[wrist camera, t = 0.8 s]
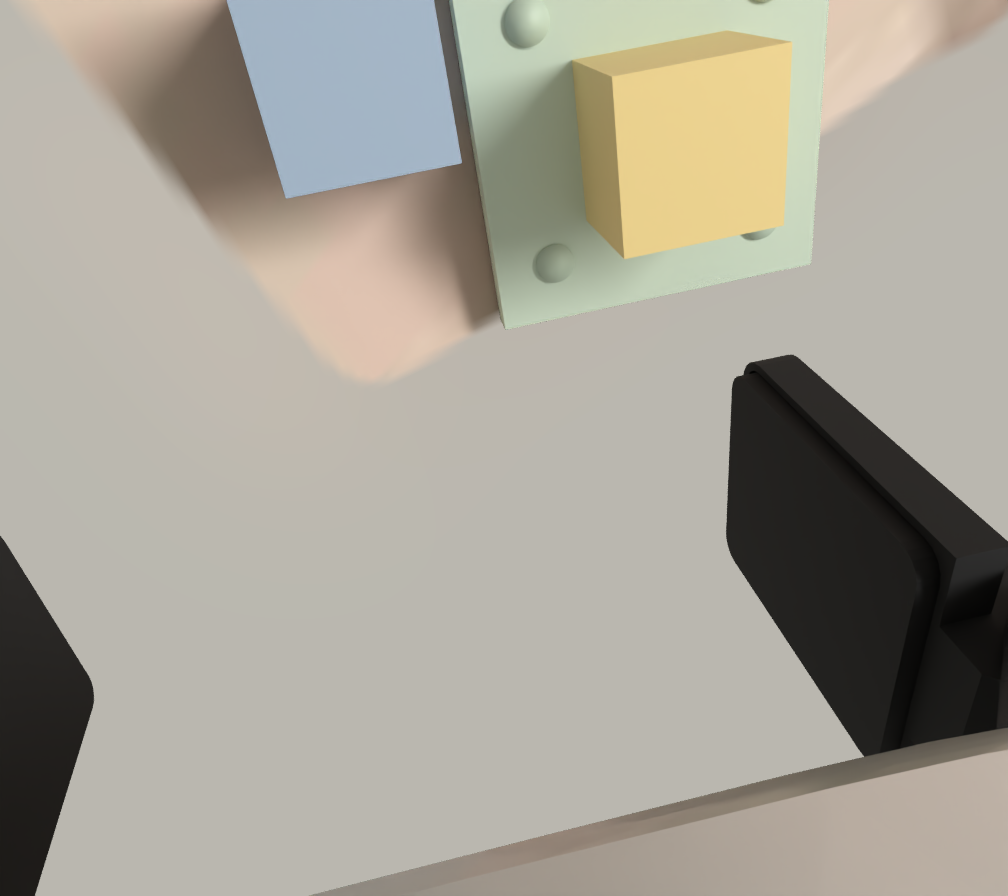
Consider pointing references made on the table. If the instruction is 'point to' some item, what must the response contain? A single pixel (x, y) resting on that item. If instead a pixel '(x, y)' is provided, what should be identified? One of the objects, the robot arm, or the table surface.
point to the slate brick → (348, 89)
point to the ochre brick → (684, 140)
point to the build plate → (556, 150)
